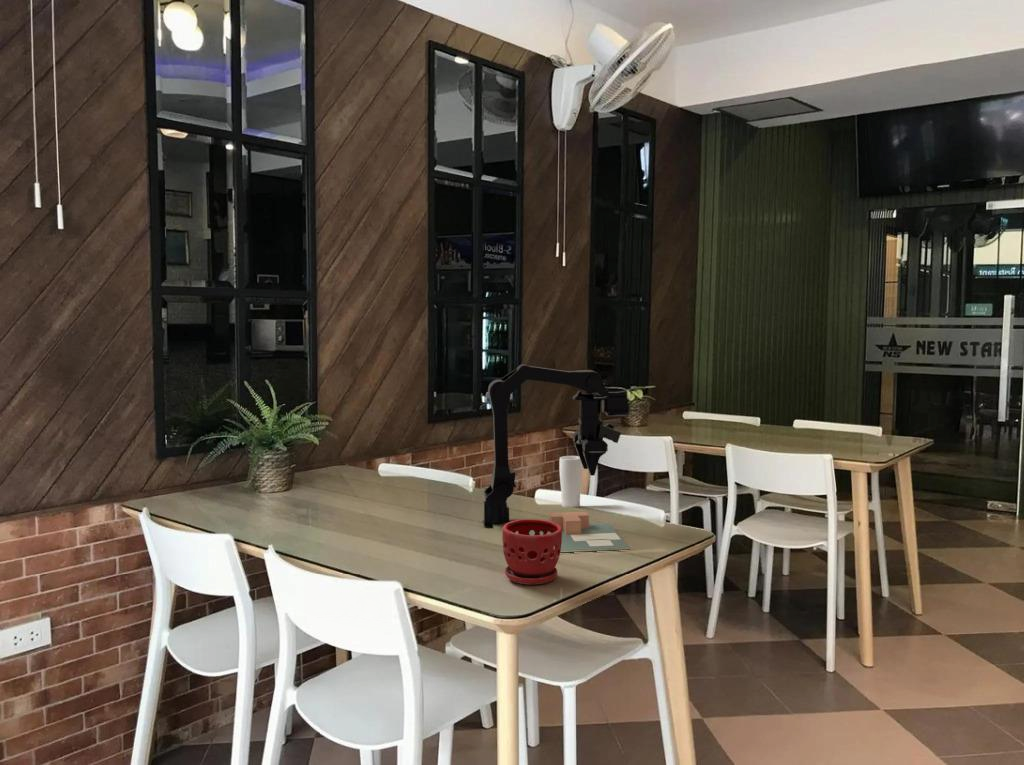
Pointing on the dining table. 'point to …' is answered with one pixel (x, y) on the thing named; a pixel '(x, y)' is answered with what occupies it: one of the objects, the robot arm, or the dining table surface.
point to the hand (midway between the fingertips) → (589, 472)
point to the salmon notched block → (570, 521)
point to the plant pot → (531, 550)
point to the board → (591, 539)
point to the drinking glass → (570, 480)
